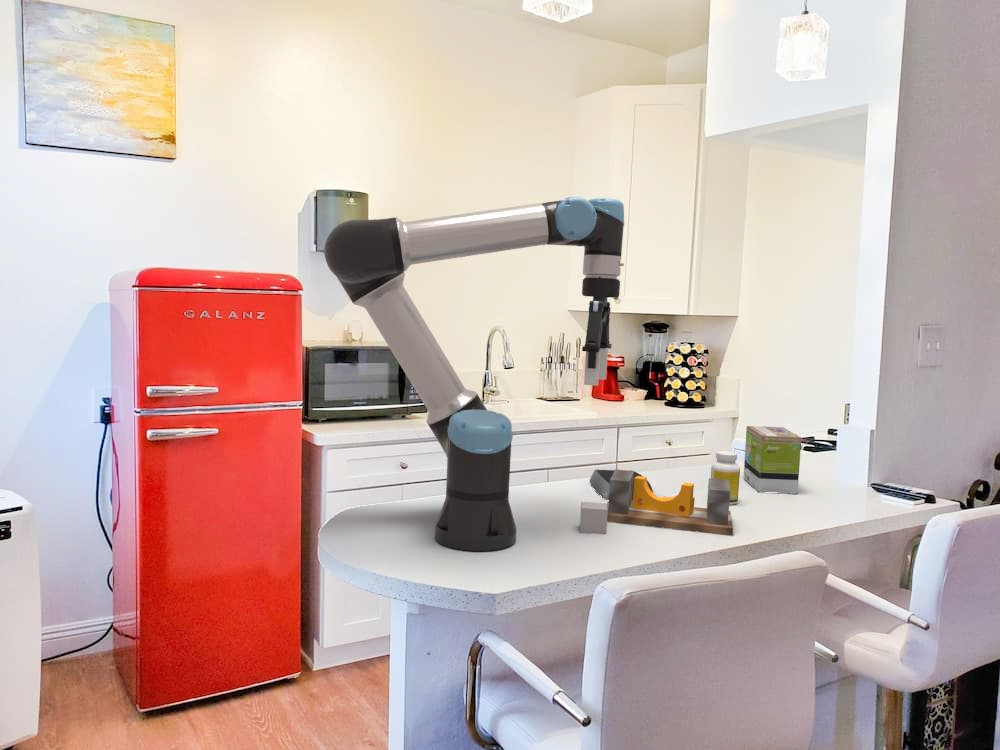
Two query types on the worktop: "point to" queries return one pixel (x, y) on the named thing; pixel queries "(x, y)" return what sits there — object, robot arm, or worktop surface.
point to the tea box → (772, 459)
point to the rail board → (700, 520)
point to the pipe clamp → (663, 499)
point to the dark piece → (607, 482)
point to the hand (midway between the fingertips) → (595, 382)
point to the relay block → (593, 518)
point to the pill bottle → (727, 472)
